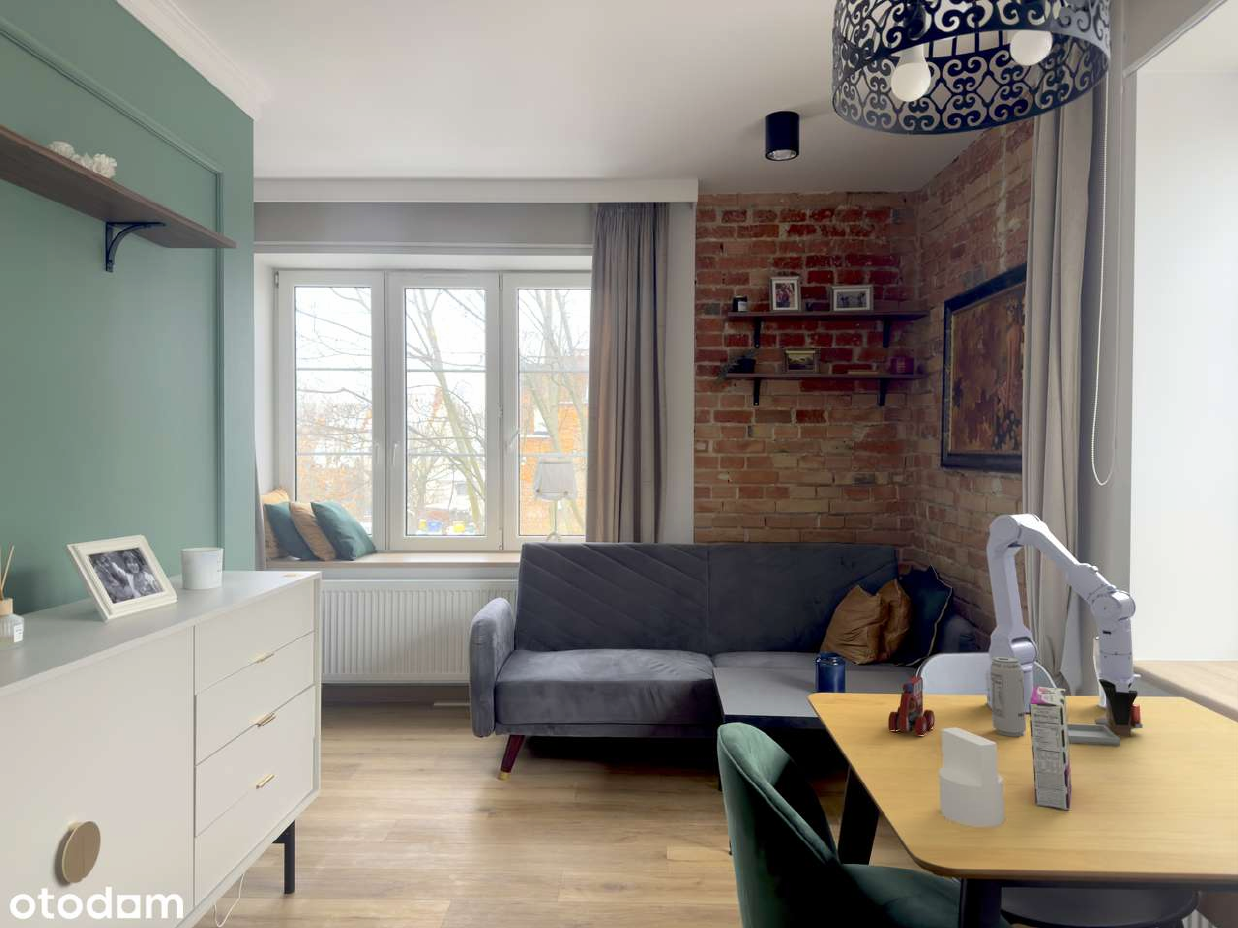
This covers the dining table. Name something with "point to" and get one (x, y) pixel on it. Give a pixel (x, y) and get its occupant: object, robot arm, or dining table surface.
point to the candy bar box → (1050, 747)
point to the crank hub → (1103, 721)
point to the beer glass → (1097, 668)
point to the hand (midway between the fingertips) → (1119, 719)
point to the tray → (1091, 734)
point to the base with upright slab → (970, 780)
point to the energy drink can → (1008, 696)
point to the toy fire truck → (912, 710)
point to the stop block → (1116, 729)
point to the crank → (1134, 716)
